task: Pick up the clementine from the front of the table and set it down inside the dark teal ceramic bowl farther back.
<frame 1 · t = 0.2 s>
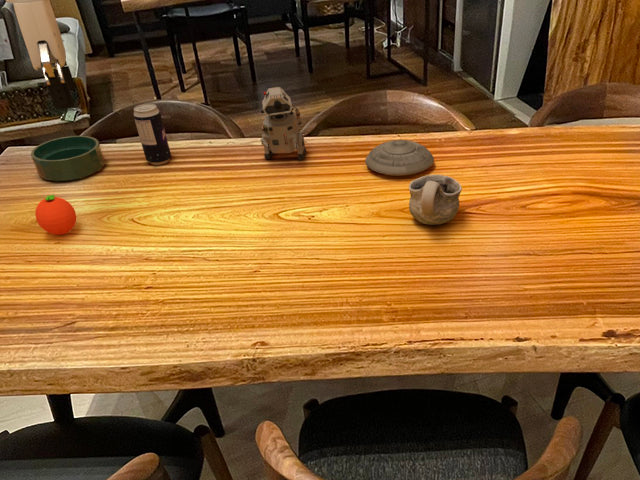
hand: (66, 98, 111), 22 cm above the table, tool pointing down, fingers open, 9 cm apart
flying saucer: (399, 167, 137), on the table
bowl: (73, 169, 141), on the table
clementine: (63, 232, 119), on the table
mug: (434, 225, 117), on the table
figurine: (284, 161, 141), on the table
beverage can: (159, 162, 143), on the table
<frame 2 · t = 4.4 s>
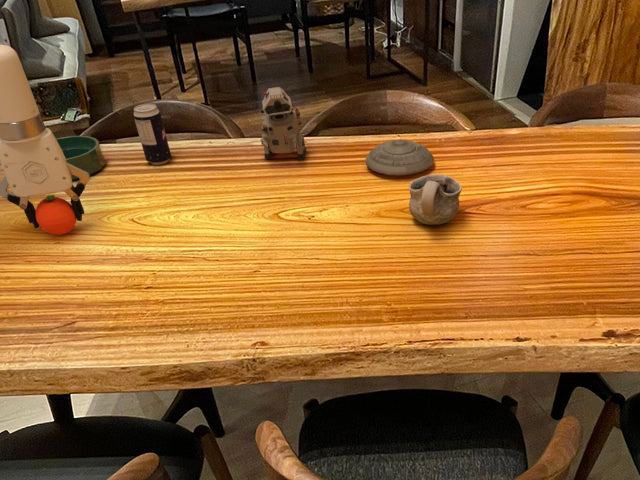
hand: (58, 220, 118), 2 cm above the table, tool pointing down, fingers closed on clementine, 7 cm apart
clementine: (63, 232, 119), on the table, touching gripper
everything else where it was.
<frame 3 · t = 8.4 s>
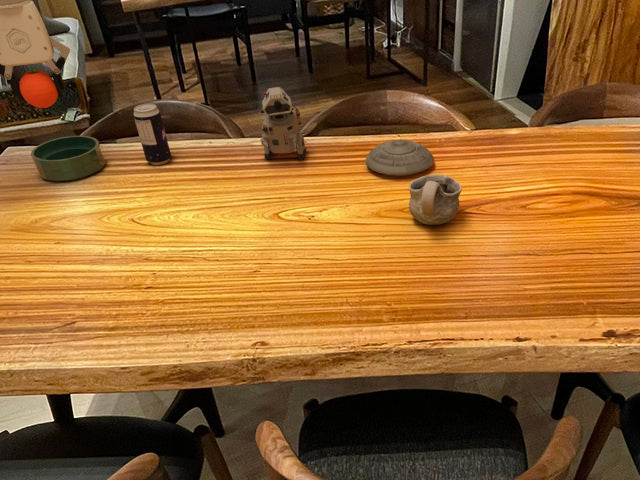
hand: (41, 95, 127), 17 cm above the table, tool pointing down, fingers closed on clementine, 7 cm apart
clementine: (46, 107, 128), point 15 cm above the table, touching gripper
everything else where it was.
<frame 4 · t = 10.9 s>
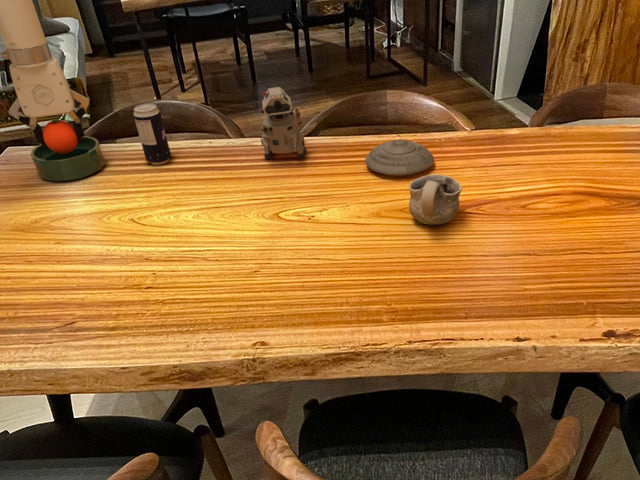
hand: (62, 142, 137), 6 cm above the table, tool pointing down, fingers closed on clementine, 7 cm apart
clementine: (66, 152, 138), point 4 cm above the table, touching gripper
everything else where it was.
when the fingers open (3 cm above the table, at t = 12.5 s): clementine stays where it is, resting on bowl.
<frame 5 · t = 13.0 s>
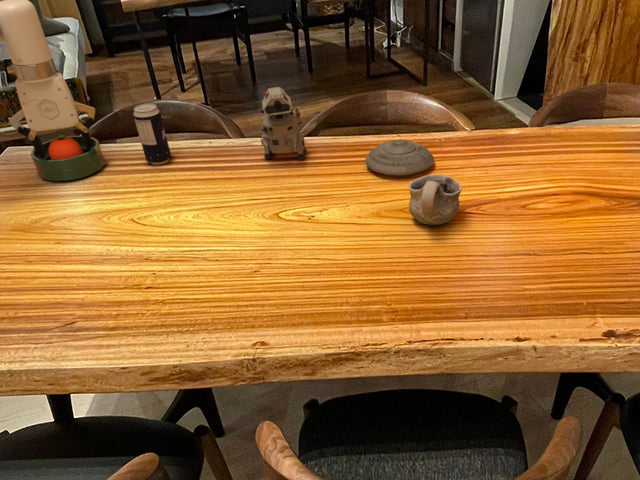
hand: (66, 152, 138), 4 cm above the table, tool pointing down, fingers open, 9 cm apart
clementine: (72, 168, 141), resting on bowl
everything else where it was.
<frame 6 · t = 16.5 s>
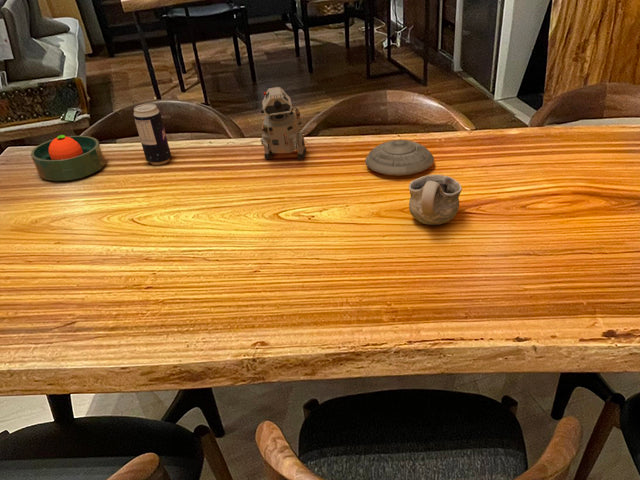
nothing on the table moved.
at the end: clementine inside the target area in the bowl (0.1 cm from its centre), point 0.4 cm above the bowl's base; the gripper is holding nothing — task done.
